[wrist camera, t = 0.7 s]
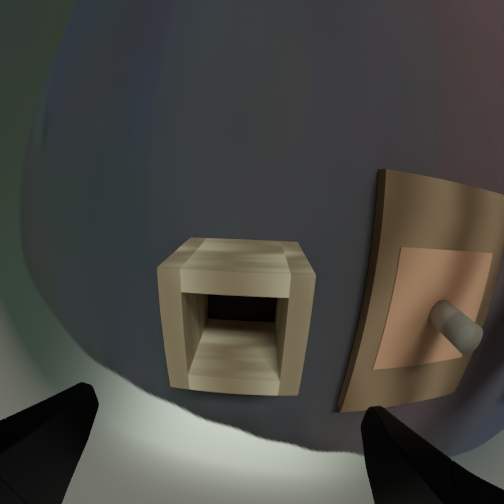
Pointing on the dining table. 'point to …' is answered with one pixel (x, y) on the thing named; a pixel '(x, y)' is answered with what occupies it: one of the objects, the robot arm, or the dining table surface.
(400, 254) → the post board
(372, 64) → the dining table surface
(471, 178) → the dining table surface
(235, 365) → the collar
